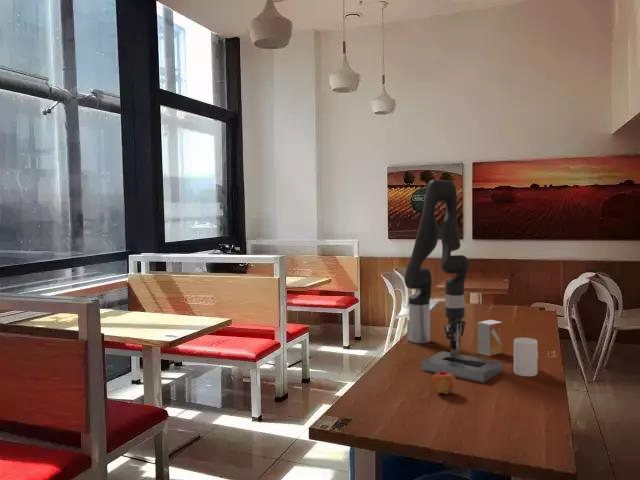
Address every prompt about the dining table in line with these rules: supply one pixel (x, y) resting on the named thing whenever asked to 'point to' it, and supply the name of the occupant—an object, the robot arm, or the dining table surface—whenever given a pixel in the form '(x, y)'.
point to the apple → (444, 382)
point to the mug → (525, 356)
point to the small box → (490, 337)
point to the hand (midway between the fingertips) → (455, 348)
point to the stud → (456, 344)
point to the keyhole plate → (463, 366)
